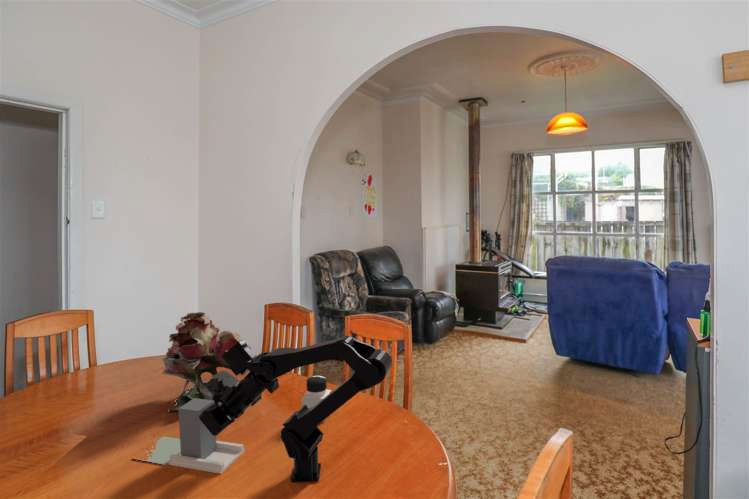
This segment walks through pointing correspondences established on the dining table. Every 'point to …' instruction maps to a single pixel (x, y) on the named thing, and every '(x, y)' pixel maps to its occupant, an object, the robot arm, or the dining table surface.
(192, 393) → the rose bouquet
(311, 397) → the medicine bottle
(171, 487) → the dining table surface
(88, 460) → the dining table surface
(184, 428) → the gray block
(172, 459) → the off-white chute
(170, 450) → the sage mat
